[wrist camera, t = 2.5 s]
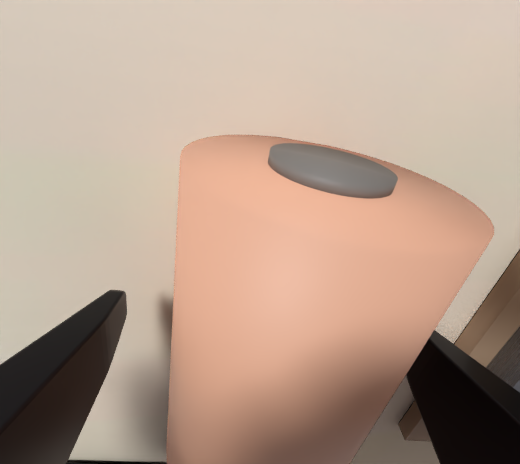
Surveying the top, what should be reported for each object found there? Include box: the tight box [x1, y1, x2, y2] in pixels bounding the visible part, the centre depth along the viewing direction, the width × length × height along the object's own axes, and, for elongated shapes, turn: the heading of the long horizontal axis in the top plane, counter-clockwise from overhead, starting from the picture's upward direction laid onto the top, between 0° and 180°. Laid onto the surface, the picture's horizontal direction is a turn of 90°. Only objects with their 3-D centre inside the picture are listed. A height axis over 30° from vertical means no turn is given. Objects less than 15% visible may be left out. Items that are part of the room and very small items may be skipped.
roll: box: [166, 135, 494, 464], centre depth 9 cm, size 10×6×6 cm, turn 170°
